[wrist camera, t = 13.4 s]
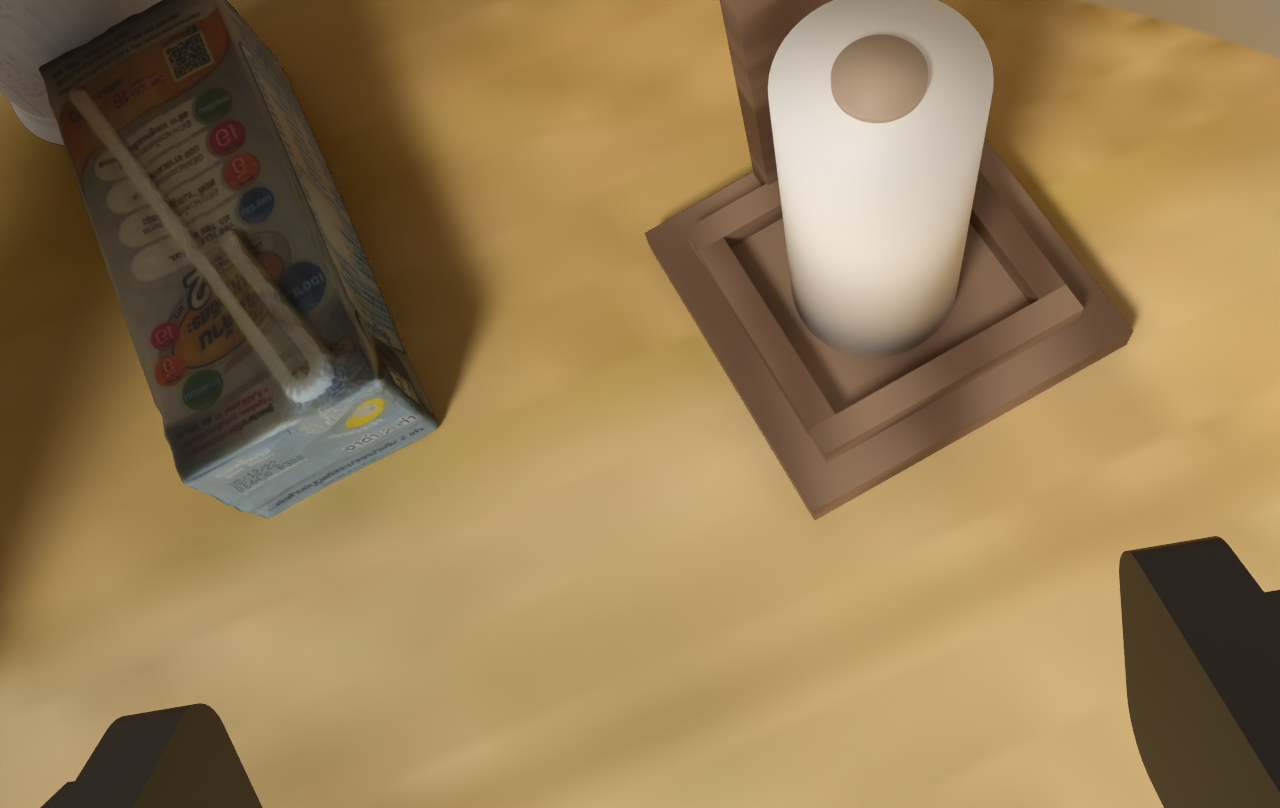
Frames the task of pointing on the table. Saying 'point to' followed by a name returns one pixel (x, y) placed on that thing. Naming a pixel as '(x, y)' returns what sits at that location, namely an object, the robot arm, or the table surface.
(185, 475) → the beverage carton
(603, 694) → the table surface
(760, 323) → the walnut holder
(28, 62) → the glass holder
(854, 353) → the paper roll
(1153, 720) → the robot arm
